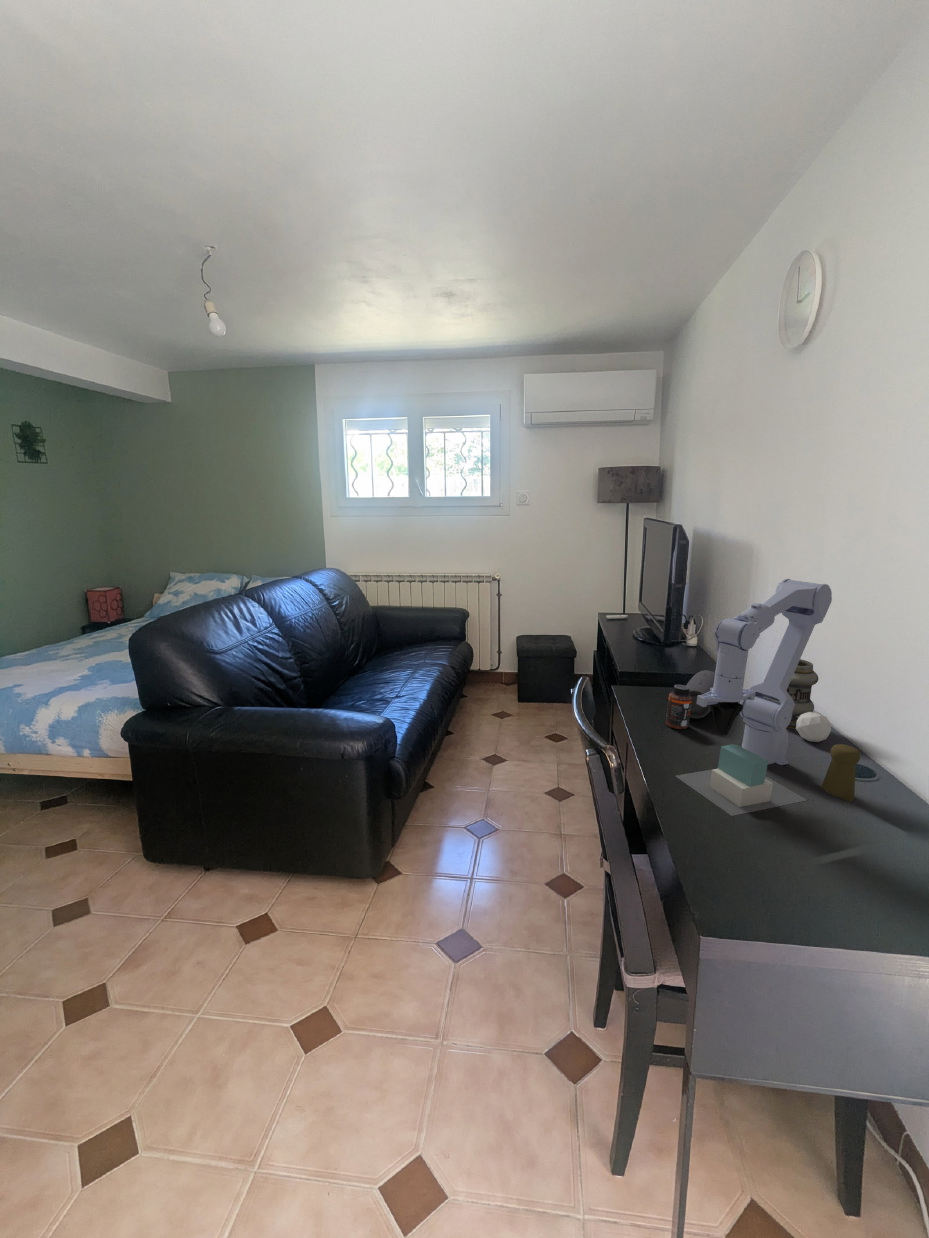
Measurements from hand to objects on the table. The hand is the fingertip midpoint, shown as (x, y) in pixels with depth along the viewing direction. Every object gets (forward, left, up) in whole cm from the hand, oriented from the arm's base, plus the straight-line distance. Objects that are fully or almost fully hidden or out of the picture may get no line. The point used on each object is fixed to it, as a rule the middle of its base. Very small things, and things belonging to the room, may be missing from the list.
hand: (721, 732), depth 119 cm
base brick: (+2, +9, -10) cm, 13 cm away
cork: (-20, +14, -11) cm, 26 cm away
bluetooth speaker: (-26, -33, -11) cm, 43 cm away
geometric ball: (-40, -8, -11) cm, 42 cm away
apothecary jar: (-44, -19, -11) cm, 49 cm away
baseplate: (0, +7, -10) cm, 12 cm away
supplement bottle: (-11, -25, -11) cm, 29 cm away
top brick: (+2, +8, -6) cm, 10 cm away
